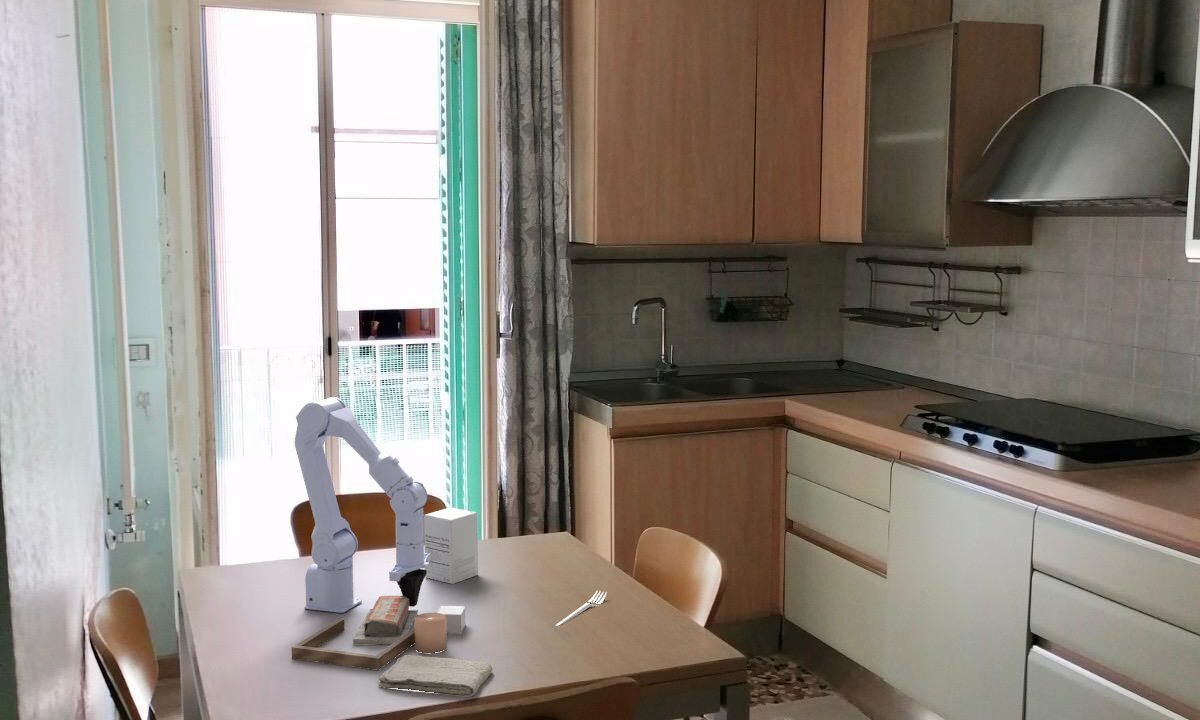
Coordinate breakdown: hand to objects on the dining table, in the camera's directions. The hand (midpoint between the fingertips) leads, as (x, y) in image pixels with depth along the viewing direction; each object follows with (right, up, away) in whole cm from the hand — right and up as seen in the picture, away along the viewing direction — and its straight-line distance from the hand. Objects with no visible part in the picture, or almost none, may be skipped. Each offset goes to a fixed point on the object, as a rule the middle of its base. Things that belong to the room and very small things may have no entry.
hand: (410, 605), depth 234 cm
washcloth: (+10, -6, -35) cm, 37 cm away
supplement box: (+5, +1, +26) cm, 26 cm away
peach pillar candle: (+7, -4, -20) cm, 21 cm away
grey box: (+10, -3, -9) cm, 14 cm away
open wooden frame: (-6, -4, -20) cm, 21 cm away
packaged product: (-3, -3, -9) cm, 10 cm away
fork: (+35, -2, +1) cm, 35 cm away
